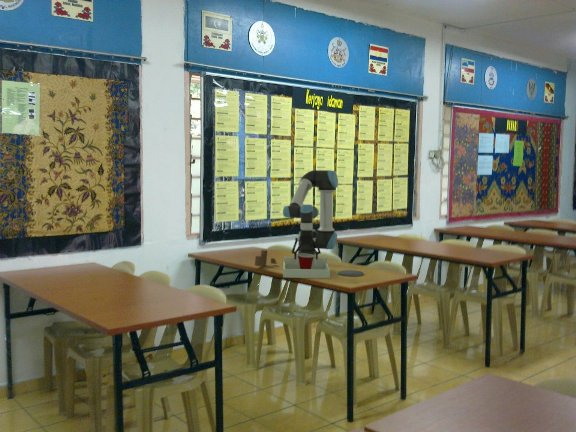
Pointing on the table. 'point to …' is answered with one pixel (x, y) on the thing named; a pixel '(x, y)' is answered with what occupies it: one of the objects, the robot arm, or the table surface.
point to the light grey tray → (295, 272)
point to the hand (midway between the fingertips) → (305, 264)
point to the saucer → (350, 273)
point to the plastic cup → (305, 260)
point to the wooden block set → (263, 259)
